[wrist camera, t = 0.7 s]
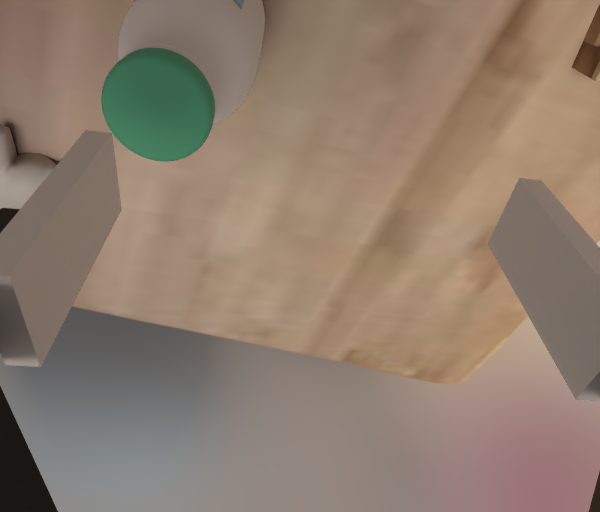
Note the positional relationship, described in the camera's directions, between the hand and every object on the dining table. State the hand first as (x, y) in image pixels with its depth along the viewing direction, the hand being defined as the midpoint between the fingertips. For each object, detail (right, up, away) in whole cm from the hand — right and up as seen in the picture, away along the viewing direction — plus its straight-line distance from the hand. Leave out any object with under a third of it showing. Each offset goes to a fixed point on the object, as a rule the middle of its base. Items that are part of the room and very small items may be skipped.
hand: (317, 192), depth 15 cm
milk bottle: (-7, +16, +20) cm, 27 cm away
